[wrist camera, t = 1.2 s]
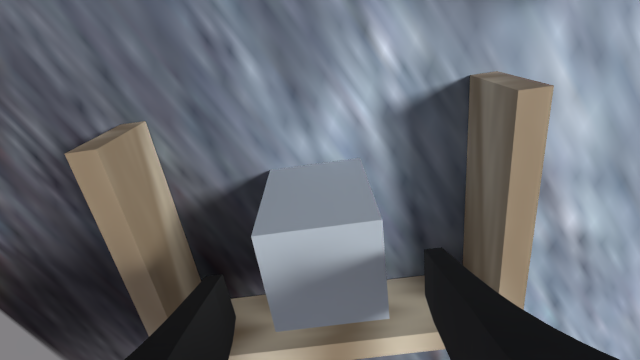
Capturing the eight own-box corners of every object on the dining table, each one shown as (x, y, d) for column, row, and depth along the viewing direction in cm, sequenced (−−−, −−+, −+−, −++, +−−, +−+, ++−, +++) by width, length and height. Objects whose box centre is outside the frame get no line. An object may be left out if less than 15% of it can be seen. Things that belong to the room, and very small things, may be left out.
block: (286, 244, 19) (275, 332, 14) (270, 169, 17) (251, 236, 12) (367, 234, 19) (389, 318, 14) (359, 157, 17) (382, 219, 12)
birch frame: (194, 318, 21) (169, 380, 18) (120, 124, 16) (64, 153, 13) (482, 284, 21) (519, 340, 17) (497, 71, 16) (553, 85, 12)
